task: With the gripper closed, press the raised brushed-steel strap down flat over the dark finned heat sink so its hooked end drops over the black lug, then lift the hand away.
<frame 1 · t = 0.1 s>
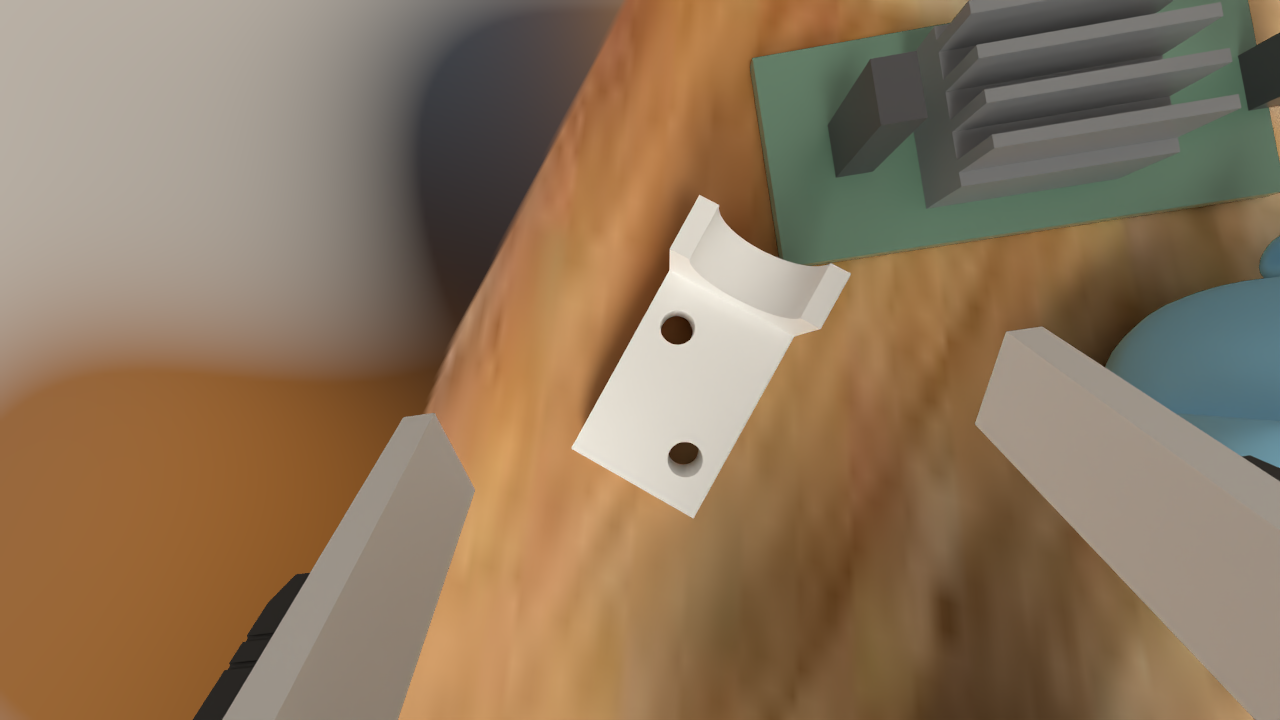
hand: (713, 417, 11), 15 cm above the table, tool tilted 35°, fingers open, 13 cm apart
bracket: (690, 370, 27), on the table
decorative pot: (1202, 429, 25), on the table
heatsink board: (998, 129, 26), on the table
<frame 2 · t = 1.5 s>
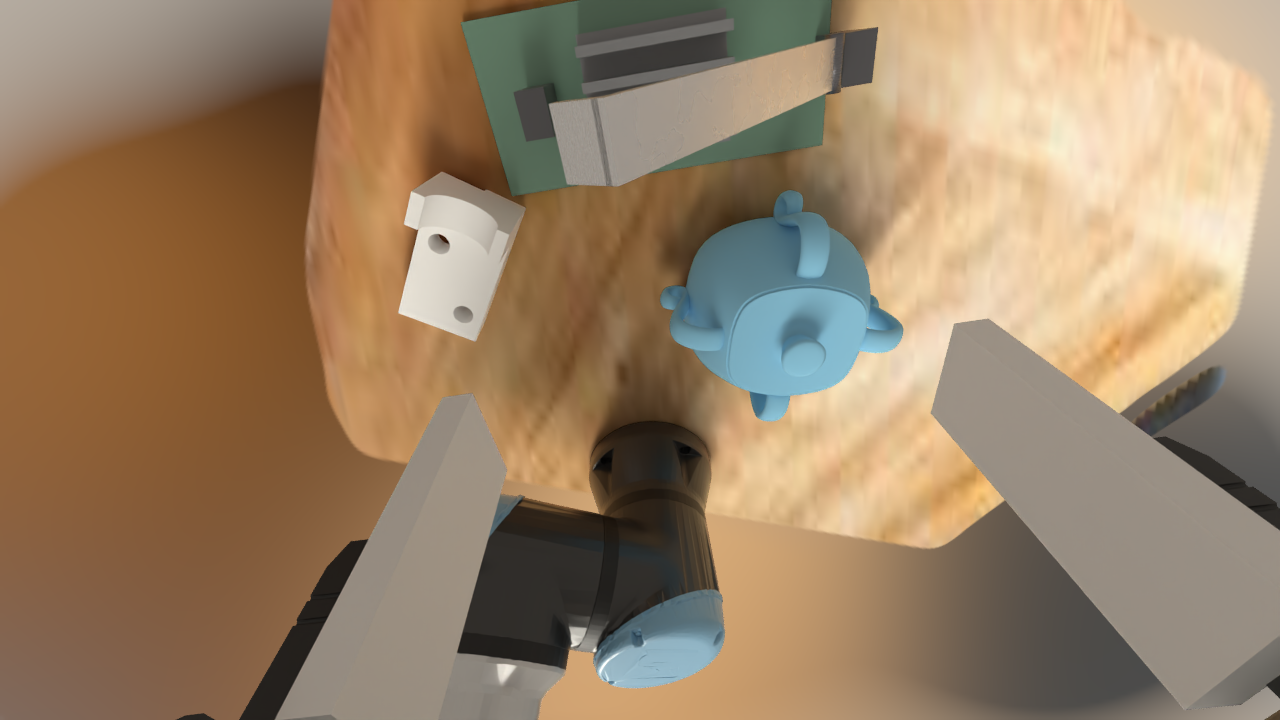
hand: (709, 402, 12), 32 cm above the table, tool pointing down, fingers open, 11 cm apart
bracket: (467, 252, 43), on the table
strap: (738, 93, 23), point 15 cm above the table, hinge at 50.0°
decorative pot: (758, 283, 45), on the table
heatsink board: (654, 87, 36), on the table
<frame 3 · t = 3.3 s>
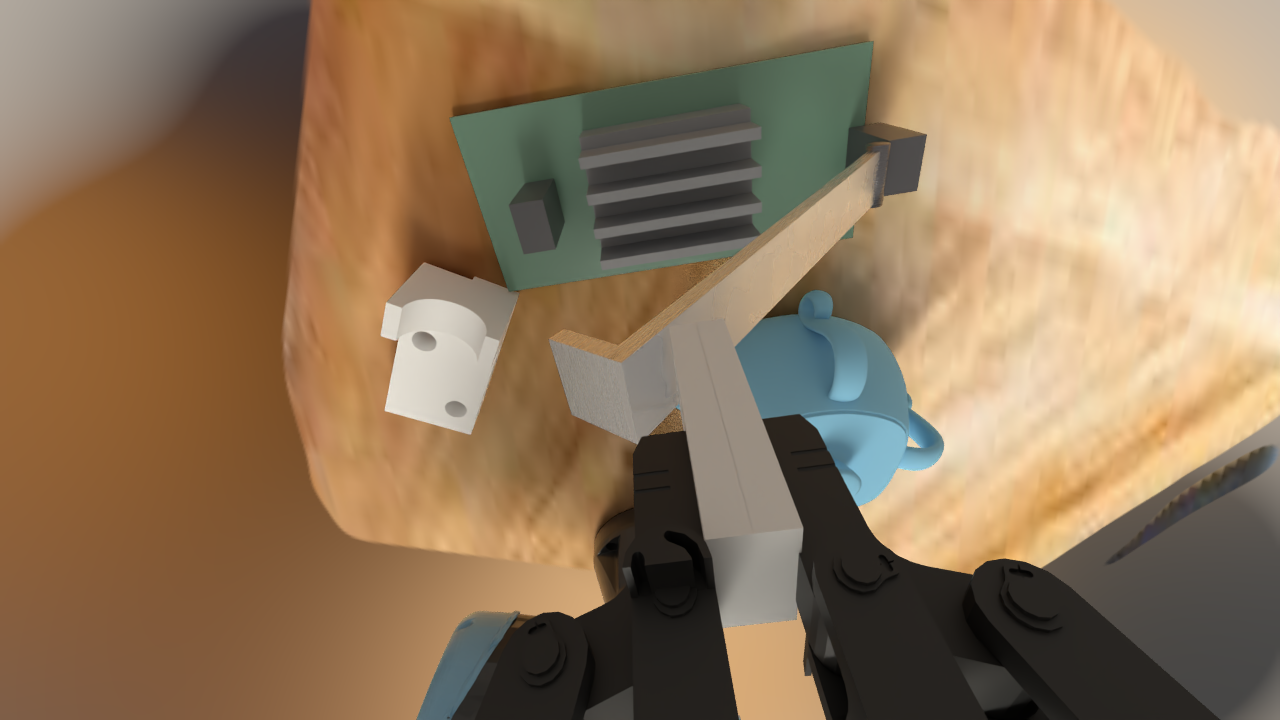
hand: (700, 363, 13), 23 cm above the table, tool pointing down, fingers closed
bracket: (458, 339, 39), on the table
strap: (774, 244, 20), point 15 cm above the table, hinge at 49.9°, touching gripper
decorative pot: (777, 370, 42), on the table
heatsink board: (666, 180, 32), on the table
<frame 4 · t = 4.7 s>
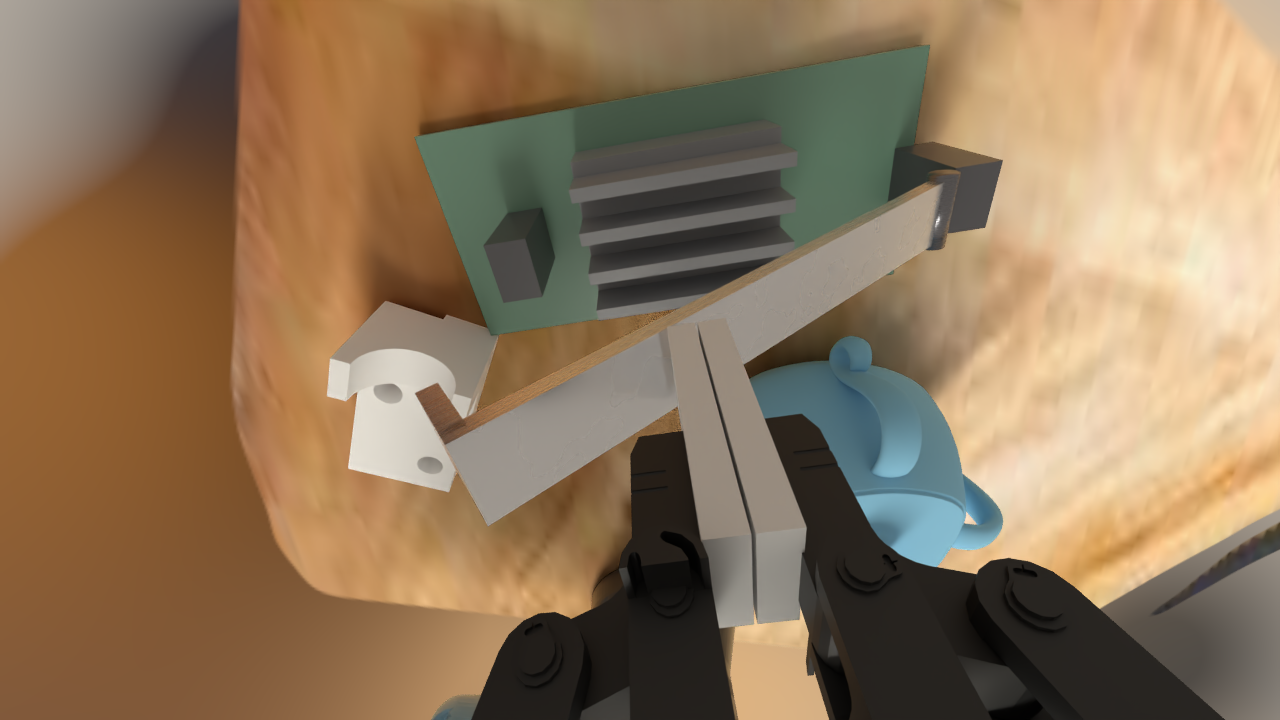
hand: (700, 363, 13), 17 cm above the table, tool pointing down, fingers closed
bracket: (432, 384, 34), on the table
strap: (757, 294, 16), point 12 cm above the table, hinge at 34.9°, touching gripper
decorative pot: (800, 418, 37), on the table
heatsink board: (675, 208, 27), on the table
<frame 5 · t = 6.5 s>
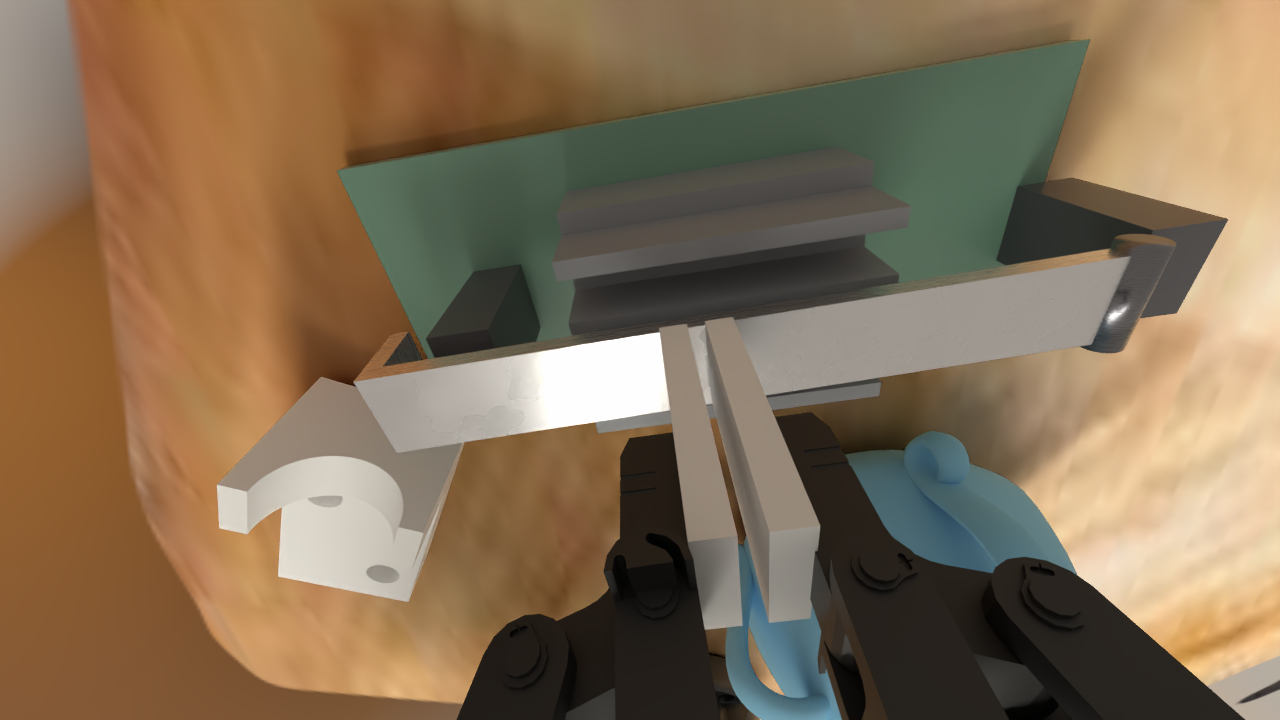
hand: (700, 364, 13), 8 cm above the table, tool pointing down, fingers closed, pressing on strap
bracket: (389, 468, 27), on the table
strap: (742, 338, 14), point 6 cm above the table, hinge at 1.8°, touching gripper
decorative pot: (849, 507, 29), on the table
heatsink board: (704, 263, 20), on the table
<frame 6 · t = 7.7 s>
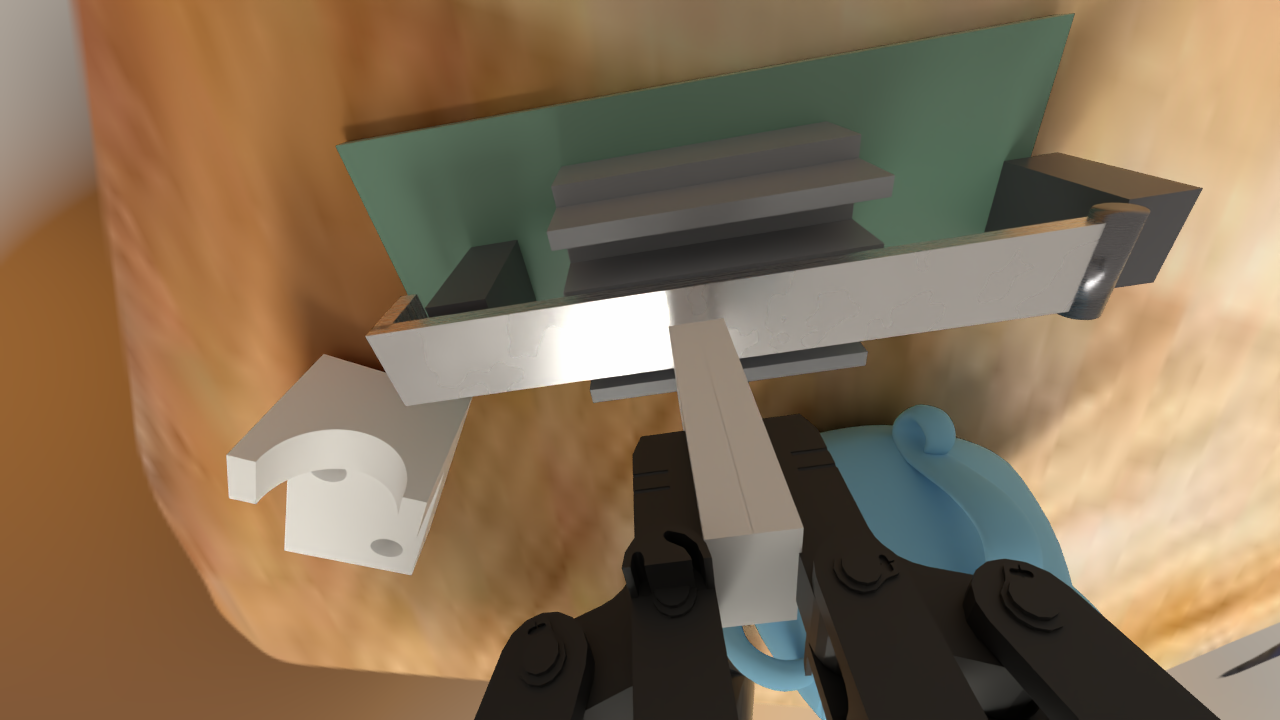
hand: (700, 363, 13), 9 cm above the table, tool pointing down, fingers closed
bracket: (391, 446, 27), on the table
strap: (731, 303, 15), point 6 cm above the table, hinge at 0.2°
decorative pot: (841, 483, 30), on the table
heatsink board: (697, 239, 20), on the table
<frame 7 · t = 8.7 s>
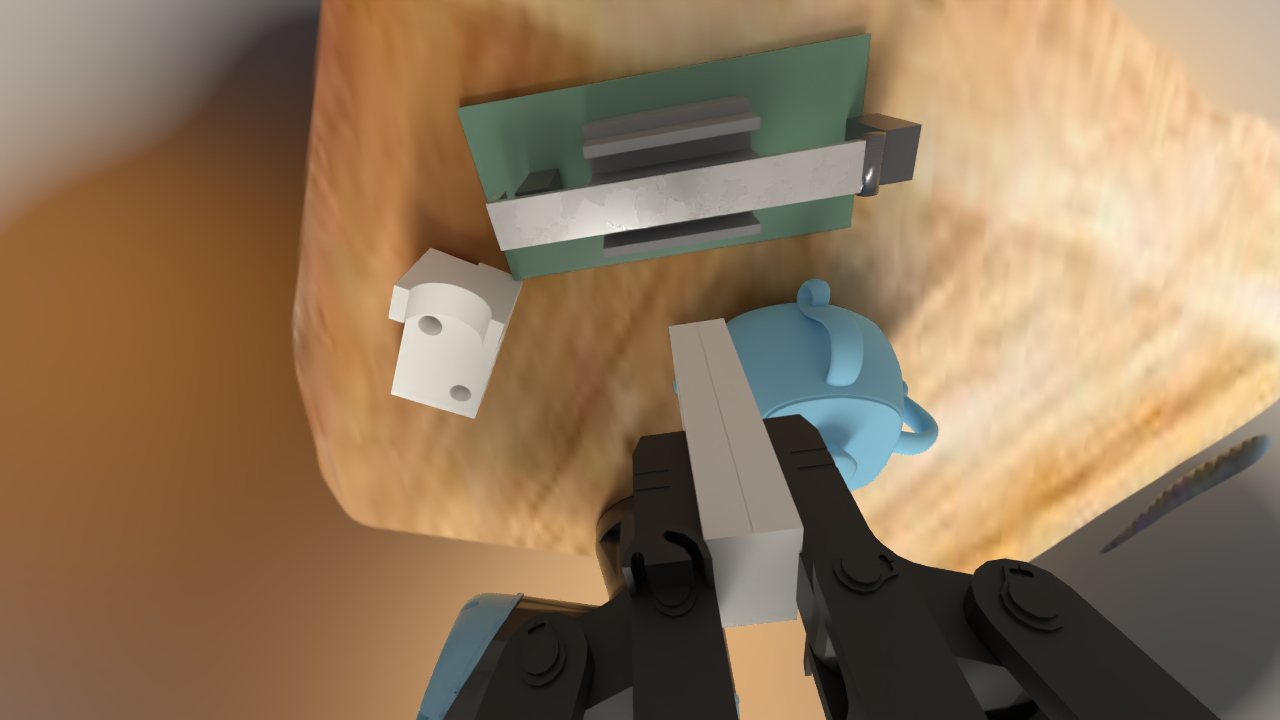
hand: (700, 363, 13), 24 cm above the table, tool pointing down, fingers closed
bracket: (463, 325, 40), on the table
strap: (681, 191, 27), point 6 cm above the table, hinge at 0.2°
decorative pot: (776, 359, 42), on the table
heatsink board: (668, 170, 33), on the table
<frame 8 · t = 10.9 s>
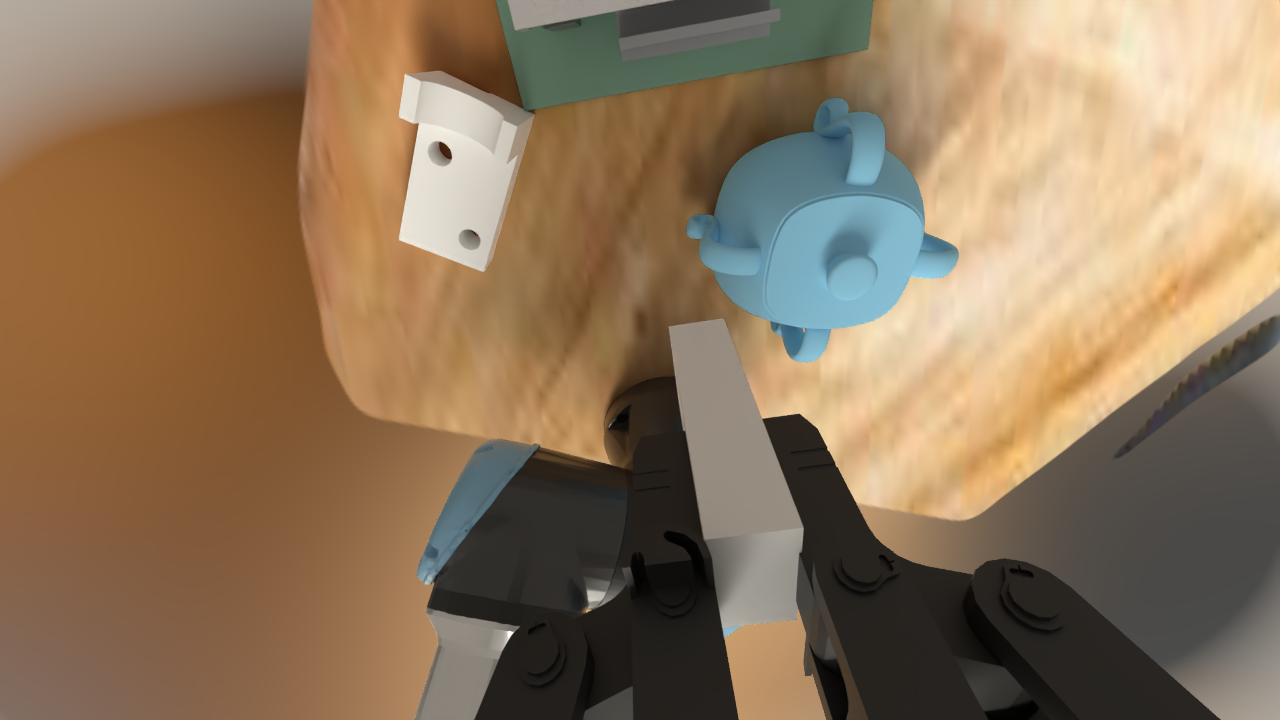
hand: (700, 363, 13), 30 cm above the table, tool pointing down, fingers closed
bracket: (472, 173, 39), on the table
decorative pot: (790, 217, 42), on the table
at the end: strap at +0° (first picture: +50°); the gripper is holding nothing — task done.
